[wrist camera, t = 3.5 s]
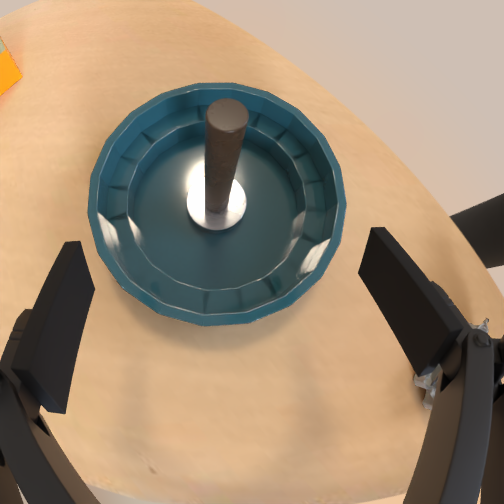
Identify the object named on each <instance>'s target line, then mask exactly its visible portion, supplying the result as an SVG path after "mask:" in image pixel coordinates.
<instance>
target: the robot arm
mask: <svg viewBox="0 0 504 504" xmlns="http://www.w3.org/2000/svg"><path fill="white" fill-rule="evenodd" d="M358 274H359V276H360V277H361V279H362V280H363V282H364V284H365V285H366V287H367V289H368V290H369V292H370V293H371V295H372V297H373V298H374V300H375V302H376V303H377V305H378V307H379V308H380V310H381V312H382V314H383V315H384V317H385V319H386V320H387V322H388V324H389V326H390V327H391V329H392V331H393V333H394V334H395V336H396V338H397V340H398V341H399V343H400V345H401V347H402V349H403V350H404V352H405V354H406V356H407V358H408V360H409V361H410V363H411V365H412V367H413V369H414V371H415V373H416V375H417V376H418V377H421V376H424V375H427V374H430V373H432V372H433V371H434V370H435V368H436V367H437V366H438V364H439V365H440V366H441V368H442V370H441V371H440V372H439V374H438V375H437V376H436V377H435V379H434V380H433V381H432V383H431V385H430V386H433V385H434V384H435V383H436V381H437V386H436V387H435V388H436V391H435V396H434V401H433V406H432V410H431V415H430V419H429V423H428V427H427V431H426V435H425V438H424V442H423V445H422V449H421V452H420V456H419V459H418V462H417V465H416V468H415V471H414V474H413V477H412V480H411V483H410V486H409V488H408V491H407V494H406V496H405V499H404V501H403V504H477V501H478V497H479V493H480V488H481V503H480V504H504V384H502V382H501V379H502V378H503V376H504V335H503V337H502V338H501V339H493V338H491V337H490V336H489V335H488V334H487V333H486V332H485V331H483V330H481V329H477V328H475V329H472V328H471V326H470V325H469V323H468V322H467V321H466V319H465V318H464V316H463V315H462V314H461V312H460V311H459V310H458V308H457V307H456V306H455V305H454V303H453V302H452V300H451V299H450V298H449V296H448V295H447V294H446V293H445V291H444V290H443V289H442V288H441V287H440V286H439V285H437V284H436V283H435V282H433V281H431V282H430V281H429V280H428V278H427V277H426V276H425V275H424V273H423V272H422V271H421V270H420V268H419V267H418V266H417V265H416V263H415V262H414V261H413V260H412V259H411V257H410V256H409V255H408V254H407V253H406V251H405V250H404V249H403V248H402V247H401V246H400V244H399V243H398V242H397V241H396V240H395V239H394V237H393V236H392V235H391V234H390V233H389V232H388V231H387V229H386V228H385V227H371V230H370V234H369V238H368V241H367V245H366V248H365V252H364V255H363V258H362V262H361V265H360V268H359V271H358ZM94 291H95V287H94V284H93V281H92V278H91V275H90V272H89V269H88V266H87V263H86V259H85V256H84V252H83V249H82V245H81V242H80V241H71V242H65V243H64V245H63V247H62V249H61V251H60V253H59V255H58V256H57V258H56V260H55V262H54V264H53V266H52V268H51V270H50V272H49V274H48V276H47V278H46V280H45V283H44V285H43V287H42V289H41V291H40V293H39V296H38V298H37V300H36V302H35V305H34V307H33V309H25V310H24V311H23V312H22V313H21V315H20V316H19V317H18V318H17V320H16V322H15V325H14V327H13V331H12V332H11V334H10V337H9V340H8V342H7V344H6V347H5V350H4V352H3V355H2V358H1V360H0V504H23V501H22V498H21V495H20V492H19V489H18V486H19V488H20V490H21V492H22V494H23V495H24V497H25V499H26V500H27V502H28V504H100V502H99V501H98V500H97V499H96V497H95V496H94V495H93V494H92V492H91V491H90V490H89V488H88V487H87V486H86V484H85V483H84V482H83V480H82V479H81V477H80V476H79V475H78V473H77V472H76V470H75V469H74V467H73V466H72V464H71V463H70V461H69V460H68V458H67V457H66V455H65V454H64V452H63V451H62V449H61V447H60V446H59V444H58V443H57V441H56V439H55V438H54V436H53V434H52V432H51V431H50V429H49V427H48V425H47V424H46V422H45V420H44V418H43V416H42V415H41V414H40V413H39V411H40V406H41V405H42V406H43V407H44V408H45V409H46V410H47V411H48V412H53V413H60V414H66V408H67V402H68V397H69V391H70V386H71V381H72V376H73V371H74V367H75V362H76V358H77V353H78V349H79V345H80V341H81V337H82V333H83V329H84V326H85V322H86V318H87V315H88V311H89V308H90V304H91V301H92V298H93V294H94ZM17 484H18V485H17Z"/></svg>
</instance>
